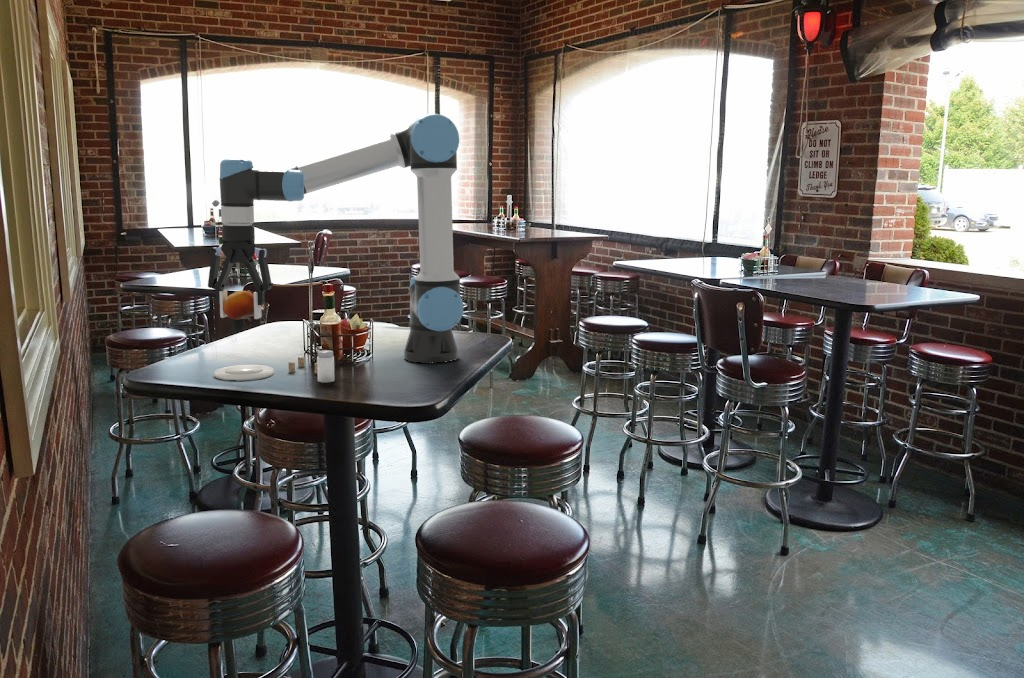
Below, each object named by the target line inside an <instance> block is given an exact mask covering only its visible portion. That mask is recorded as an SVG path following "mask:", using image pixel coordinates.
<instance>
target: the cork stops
mask: <svg viewBox="0 0 1024 678" xmlns="http://www.w3.org/2000/svg"><path fill="white" fill-rule="evenodd" d="M297 367H298V368H304V367H305V356H298V357H297ZM288 373H289V374H292V373H296V362H295V361H289V362H288ZM314 374H315V375H318V372H317V362H314Z"/></svg>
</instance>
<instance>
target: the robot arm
mask: <svg viewBox="0 0 1024 678" xmlns="http://www.w3.org/2000/svg"><path fill="white" fill-rule="evenodd" d="M459 144H460V135H459V131H458V128H457V126H456V124H455V123H454V122H453V121H452V120H451V119H450V118H449V117H446V116H445V115H444V114H438V113H429V114H428V113H426V114H424V115H421V116H420V117H418V118H417V119H416V120H415V121H414V122H413V123H412V124H410V125H408V126H406V127H404V128H401V129H399V130H396V131H393V132H391V134H390V136H389V137H386V138H384V139H380V140H376V141H374V142H370V143H366V144H363V145H360V146H356V147H354V148H350V149H347V150H343V151H340V152H336V153H333V154H330V155H327V156H323V157H320V158H318V159H317V158H316V159H313V160H310V161H307V162H303V163H299V164H297V165H294V166H290V167H286V168H283V169H281V168H280V169H277V168H256V167H255V168H254V166H253V165H254V164H253V161H252V160H250V159H237V158H235V159H234V158H228V159H227V158H224V159H223V160H221V161H220V164H219V167H220V168H219V189H220V191H219V192H220V210H221V211H220V220H221V223H222V224H223V225H222V226H221V238H222V239H221V240H222V244H221V246H220V247H211V248H209V253H210V256H211V257H210V264H209V265H210V266H209V272H208V273H209V274H208V279H207V287H208V288H210V289H213V290H215V300H216V304H219V315H220V319H221V318H222V319H224V318H227V317H228V316H227V315H226V314H225V313H224V303H225V301H226V299H227V297H228V290H227V289H226V288H225V286H226V284H227V282H228V279H229V276H230V274H231V271H232V268H233V266H234V265H235V264H238V263H239V264H243V265H244V266H245V268H246V270H247V272H248V274H249V277H250V280H251V281H252V283H253V286H254V289H255V291H254V292H252V293H253V295H254V316H253V317H254V318H253V319H254V320H259V319H262V306H263V305H265V301H266V299H265V298H266V297H265V292H266V291H268V290H271V289H272V288H273V284H272V279H271V274H270V269H269V263H268V253H269V252H268V249H267V248H260V247H258V248H257V245H256V243H255V240H256V239H255V236H256V235H255V226H254V225H253V224H254V223H255V211H254V210H255V209H254V208H255V207H254V205H255V204H254V201H256V200H257V201H280V202H281V201H282V202H283V201H284V202H300V201H303V200H304V198H305V195H306V194H310V193H312V192H316V191H319V190H322V189H325V188H329V187H332V186H335V185H339V184H342V183H345V182H349V181H352V180H356V179H358V178H362V177H366V176H369V175H373V174H375V173H378V172H381V171H385V170H388V169H391V168H395V167H400V168H403V169H405V168H408V167H410V171H411V172H412V173H413V174H414V175H415V176H416V182H417V183H416V184H417V185H416V186H417V187H416V188H417V209H418V210H417V211H418V212H417V214H418V218H417V219H418V239H419V240H418V242H419V243H418V244H419V269H420V270H419V272H418V274H417V275H416V276H413V277H411V278H410V281H409V287H408V288H409V325H410V327H409V335H408V336H407V337H408V338H407V340H406V343H405V346H404V349H403V359H404V360H405V359H406V360H405V361H407V360H408V361H407V362H411V361H412V362H411V363H416V362H421V363H420V364H437V363H436V362H445V361H450V360H454V359H456V358H458V359H459V349H458V346H457V345H458V344H457V342H456V338H455V336H454V333H453V328H454V327H456V325H457V324H459V322H460V321H461V319H462V317H463V314H464V303H463V299H462V297H461V279H460V276H459V275H458V274H457V273H456V272H455V271H454V270H455V269H454V237H453V236H454V234H453V202H452V201H453V199H452V195H453V194H452V176H453V175H454V174H455V173H456V171H458V161H457V160H458V159H457V157H458V155H457V151H458V148H459V146H460V145H459ZM222 254H223V255H224V256H225V259H224V262H223V266H222V269H221V271H220V264H221V255H222ZM255 254H256V258H257V260H258V261H257V262H258V265H259V270H260V273H259V271H258V269H257V267H256V265H255V264H256V263H255V259H254V258H253V257H254V255H255ZM219 271H220V272H219ZM219 273H220V274H219ZM430 362H431V363H430ZM432 362H433V363H432ZM445 363H446V362H445Z"/></svg>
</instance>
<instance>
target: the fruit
mask: <svg viewBox="0 0 1024 678" xmlns="http://www.w3.org/2000/svg"><path fill="white" fill-rule="evenodd" d="M253 293H254V292H251V291H248V290H237V291H235V292H233V293H231V294H229V295H227V299H226V301H225V303H224V313H225V314H226V315H227V317H228V318H230V319H231V320H242V319H243V320H248V319H249V318H251V317H254V294H253Z"/></svg>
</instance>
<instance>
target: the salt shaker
mask: <svg viewBox="0 0 1024 678" xmlns="http://www.w3.org/2000/svg"><path fill="white" fill-rule="evenodd" d="M316 363H317V372H318V374H317V382H319V383H332V382H334V381H335V356H334V351H333V350H327V349H325V350H318V351H317V357H316Z"/></svg>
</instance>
